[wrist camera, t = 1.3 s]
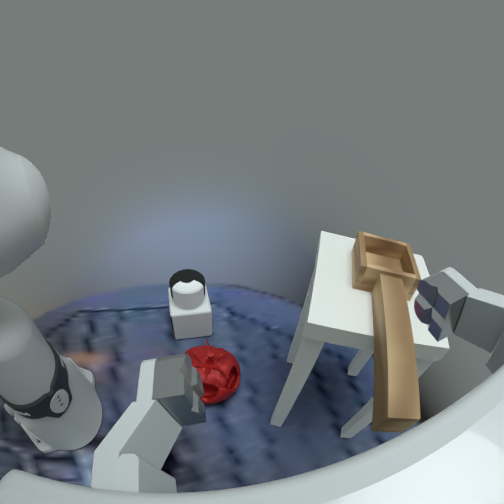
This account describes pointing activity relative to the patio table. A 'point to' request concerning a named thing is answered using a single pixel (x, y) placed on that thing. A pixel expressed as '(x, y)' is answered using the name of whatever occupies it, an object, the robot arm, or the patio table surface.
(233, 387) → the pomegranate
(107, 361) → the patio table surface
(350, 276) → the tall stand
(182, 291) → the medicine bottle
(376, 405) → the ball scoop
